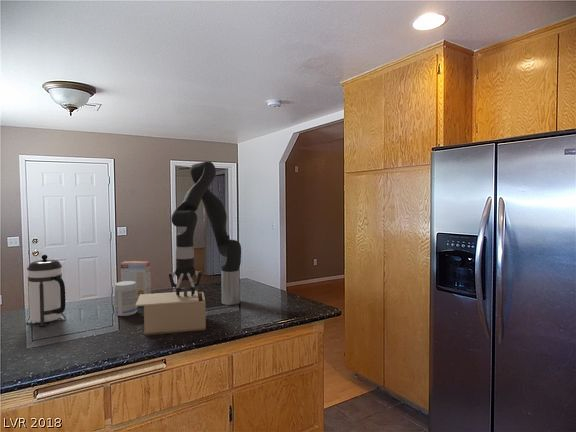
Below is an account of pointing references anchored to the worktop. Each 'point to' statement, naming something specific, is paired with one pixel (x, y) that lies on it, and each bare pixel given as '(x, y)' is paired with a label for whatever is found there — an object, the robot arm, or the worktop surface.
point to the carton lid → (167, 298)
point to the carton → (175, 317)
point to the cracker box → (137, 275)
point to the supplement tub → (125, 298)
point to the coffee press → (45, 291)
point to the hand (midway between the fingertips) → (185, 295)
